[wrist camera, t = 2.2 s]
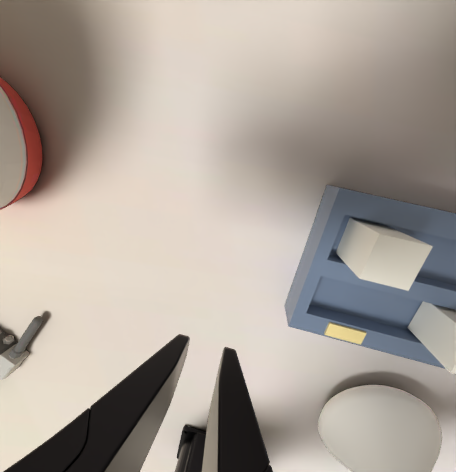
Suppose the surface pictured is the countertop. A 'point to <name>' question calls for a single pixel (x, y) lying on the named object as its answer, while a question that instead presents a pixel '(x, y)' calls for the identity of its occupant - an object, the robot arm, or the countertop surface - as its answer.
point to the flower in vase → (380, 430)
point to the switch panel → (366, 292)
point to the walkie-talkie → (15, 348)
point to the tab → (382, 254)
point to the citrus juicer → (17, 147)
